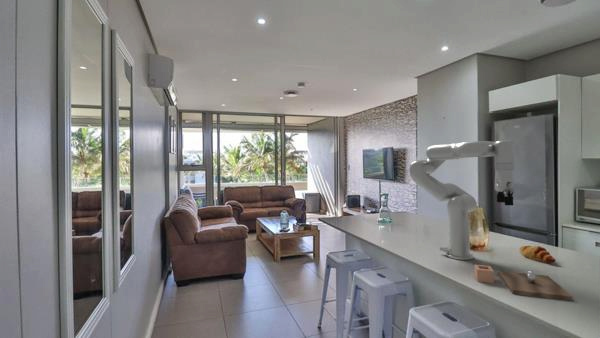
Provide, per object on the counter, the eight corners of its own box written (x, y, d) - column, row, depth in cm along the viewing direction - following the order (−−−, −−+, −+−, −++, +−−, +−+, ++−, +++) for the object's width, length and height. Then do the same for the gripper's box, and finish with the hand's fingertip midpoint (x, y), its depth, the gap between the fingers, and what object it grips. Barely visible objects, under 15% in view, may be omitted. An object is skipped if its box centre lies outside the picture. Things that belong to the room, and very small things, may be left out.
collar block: (477, 281, 124) (477, 269, 124) (474, 276, 129) (474, 264, 129) (493, 283, 122) (493, 271, 122) (490, 277, 127) (490, 266, 127)
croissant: (515, 258, 161) (508, 245, 161) (531, 249, 161) (524, 236, 161) (549, 272, 140) (541, 257, 140) (567, 261, 140) (559, 246, 140)
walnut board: (512, 293, 112) (512, 289, 112) (497, 274, 131) (497, 271, 131) (572, 300, 106) (572, 296, 106) (548, 279, 124) (548, 275, 124)
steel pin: (528, 283, 117) (528, 271, 117) (526, 280, 120) (526, 269, 119) (536, 284, 117) (536, 272, 116) (533, 281, 119) (533, 270, 119)
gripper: (489, 166, 147) (489, 201, 147) (502, 167, 130) (502, 206, 131) (506, 166, 145) (506, 201, 145) (521, 167, 128) (522, 206, 129)
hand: (504, 203), depth 138 cm, fingers open, 9 cm apart
